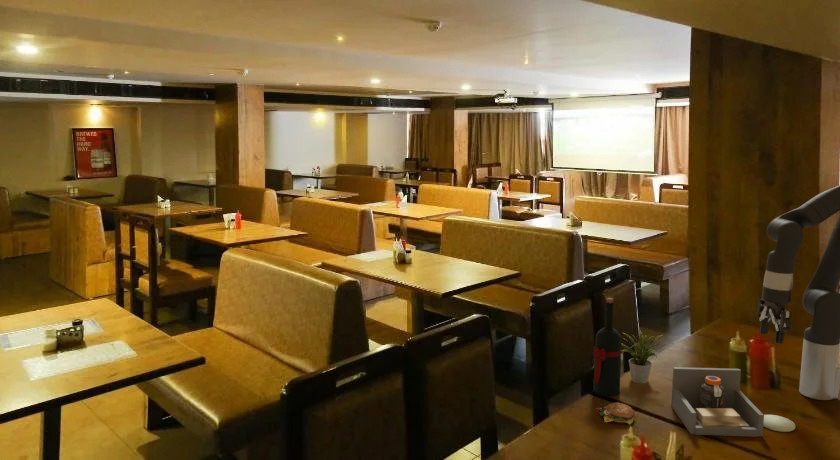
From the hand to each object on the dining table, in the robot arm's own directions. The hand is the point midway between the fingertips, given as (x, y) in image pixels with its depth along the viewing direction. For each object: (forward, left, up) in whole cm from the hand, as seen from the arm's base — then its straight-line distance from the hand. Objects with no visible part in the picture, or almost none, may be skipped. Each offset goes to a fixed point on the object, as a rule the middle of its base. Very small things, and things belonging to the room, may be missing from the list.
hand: (770, 338), depth 187 cm
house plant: (+35, -10, -18) cm, 40 cm away
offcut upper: (+23, +23, -16) cm, 36 cm away
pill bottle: (+22, +16, -18) cm, 33 cm away
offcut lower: (+22, +23, -19) cm, 37 cm away
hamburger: (+50, +18, -19) cm, 56 cm away
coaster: (+6, +20, -18) cm, 27 cm away
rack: (+22, +19, -18) cm, 34 cm away
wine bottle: (+49, +2, -18) cm, 52 cm away
